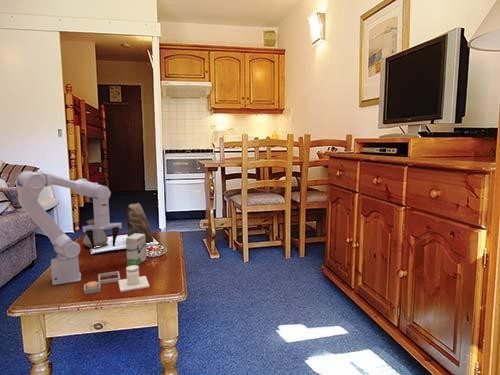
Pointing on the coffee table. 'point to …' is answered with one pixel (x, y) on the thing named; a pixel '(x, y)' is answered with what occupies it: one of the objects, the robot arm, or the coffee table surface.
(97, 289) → the dock
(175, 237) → the coffee table surface
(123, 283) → the mat
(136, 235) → the ink box
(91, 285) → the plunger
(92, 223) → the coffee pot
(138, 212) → the brown tapered rock
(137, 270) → the cartridge
